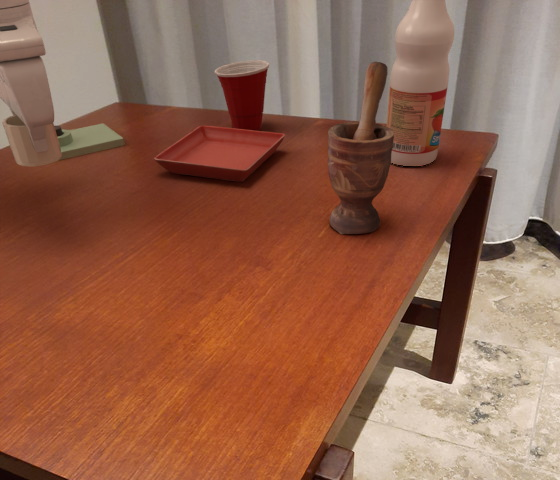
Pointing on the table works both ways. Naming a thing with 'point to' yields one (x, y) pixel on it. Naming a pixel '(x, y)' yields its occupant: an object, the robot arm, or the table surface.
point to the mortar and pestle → (360, 160)
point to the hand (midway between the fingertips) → (34, 142)
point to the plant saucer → (220, 152)
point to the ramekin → (30, 143)
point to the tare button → (58, 130)
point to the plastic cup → (244, 92)
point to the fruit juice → (419, 82)
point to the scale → (88, 140)
